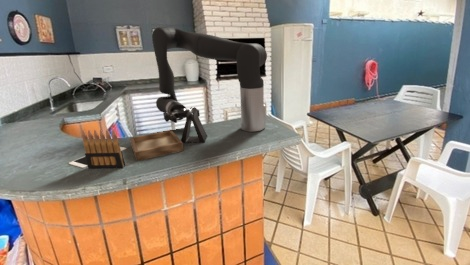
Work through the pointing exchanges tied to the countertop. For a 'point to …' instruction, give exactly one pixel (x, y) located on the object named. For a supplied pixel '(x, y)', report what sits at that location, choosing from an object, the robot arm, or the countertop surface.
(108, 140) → the ammunition clip
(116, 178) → the countertop surface
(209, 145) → the countertop surface
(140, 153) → the shallow tray
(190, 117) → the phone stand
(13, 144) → the countertop surface
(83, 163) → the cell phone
